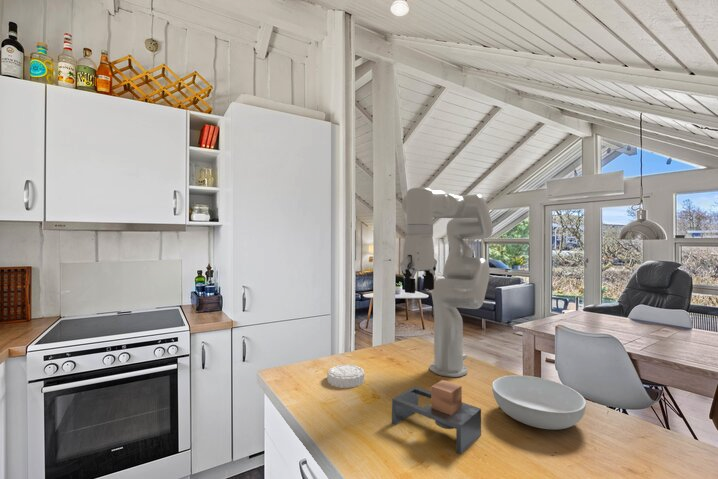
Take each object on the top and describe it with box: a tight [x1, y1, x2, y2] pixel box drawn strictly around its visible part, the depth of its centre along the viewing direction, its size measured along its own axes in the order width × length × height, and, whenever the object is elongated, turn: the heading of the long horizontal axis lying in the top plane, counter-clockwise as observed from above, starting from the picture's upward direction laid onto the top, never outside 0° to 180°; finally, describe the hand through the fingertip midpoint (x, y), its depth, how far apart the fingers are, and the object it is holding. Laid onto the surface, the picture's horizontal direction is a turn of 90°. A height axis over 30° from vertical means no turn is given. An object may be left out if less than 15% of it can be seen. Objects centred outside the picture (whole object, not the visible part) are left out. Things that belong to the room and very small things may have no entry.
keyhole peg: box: [430, 379, 463, 430], centre depth 79 cm, size 5×5×8 cm
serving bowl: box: [491, 374, 587, 430], centre depth 86 cm, size 21×21×7 cm
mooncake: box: [326, 364, 366, 389], centre depth 110 cm, size 12×12×4 cm
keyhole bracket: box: [391, 386, 482, 455], centre depth 81 cm, size 18×10×6 cm, turn 47°
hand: (419, 290), depth 98 cm, fingers open, 9 cm apart
